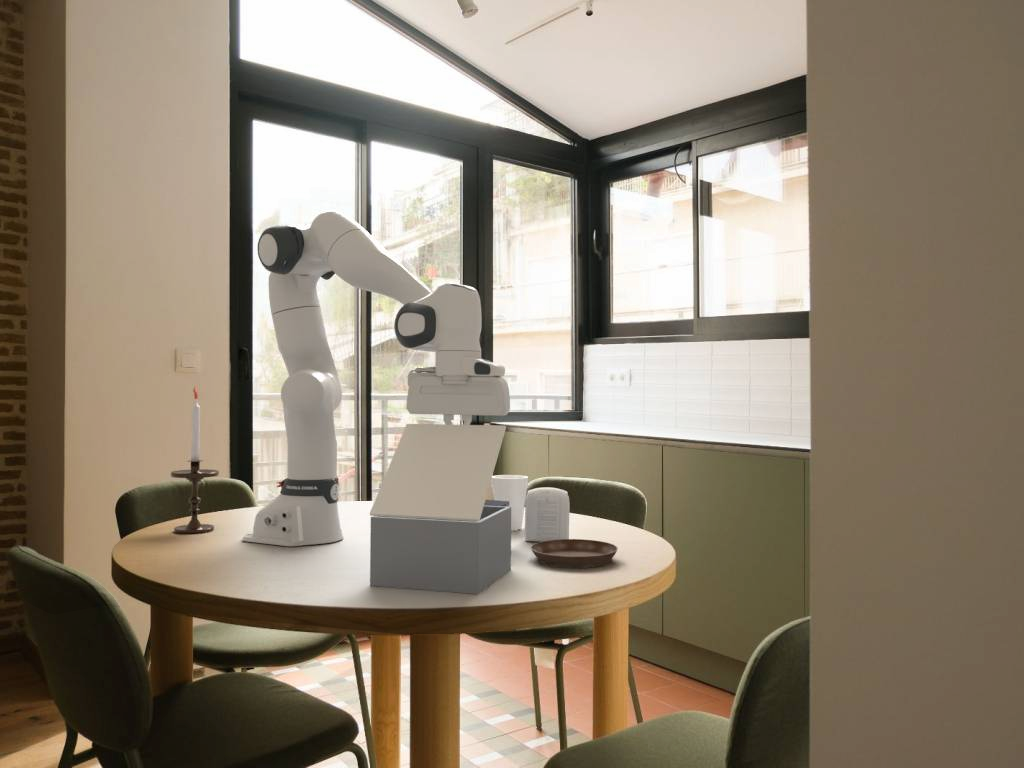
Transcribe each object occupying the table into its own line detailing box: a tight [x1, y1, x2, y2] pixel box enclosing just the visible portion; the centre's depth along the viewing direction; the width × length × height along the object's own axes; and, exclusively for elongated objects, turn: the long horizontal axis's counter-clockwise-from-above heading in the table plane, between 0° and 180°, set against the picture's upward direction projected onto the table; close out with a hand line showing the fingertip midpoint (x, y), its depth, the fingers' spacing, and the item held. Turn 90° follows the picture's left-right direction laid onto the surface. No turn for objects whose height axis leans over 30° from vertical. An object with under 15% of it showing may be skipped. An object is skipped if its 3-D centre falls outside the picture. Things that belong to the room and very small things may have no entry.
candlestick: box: [170, 387, 220, 535], centre depth 193 cm, size 11×11×35 cm
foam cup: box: [490, 474, 529, 531], centre depth 199 cm, size 10×9×13 cm
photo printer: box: [524, 486, 571, 543], centre depth 182 cm, size 10×4×12 cm, turn 86°
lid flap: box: [369, 423, 507, 521], centre depth 143 cm, size 20×22×1 cm
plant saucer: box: [530, 538, 619, 569], centre depth 161 cm, size 18×18×3 cm
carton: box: [369, 506, 512, 595], centre depth 145 cm, size 20×20×12 cm
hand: (457, 438), depth 152 cm, fingers closed, pressing on lid flap
